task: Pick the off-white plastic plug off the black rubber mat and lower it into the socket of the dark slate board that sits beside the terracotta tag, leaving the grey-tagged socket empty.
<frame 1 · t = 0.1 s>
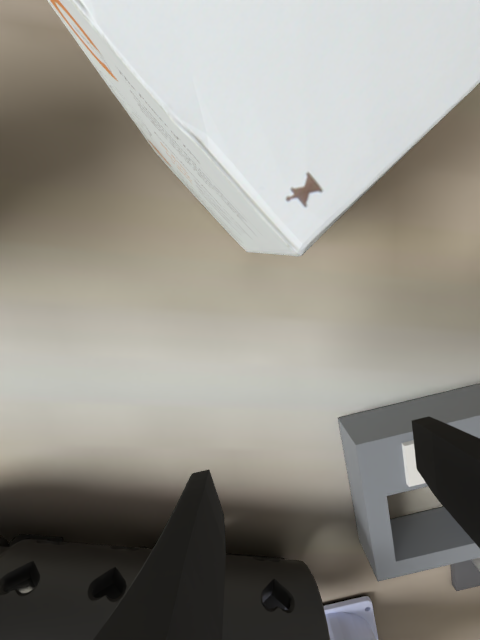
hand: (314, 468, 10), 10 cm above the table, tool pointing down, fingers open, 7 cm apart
muzzle brake: (121, 544, 23), on the table
socket board: (461, 456, 22), on the table
small box: (240, 165, 17), on the table
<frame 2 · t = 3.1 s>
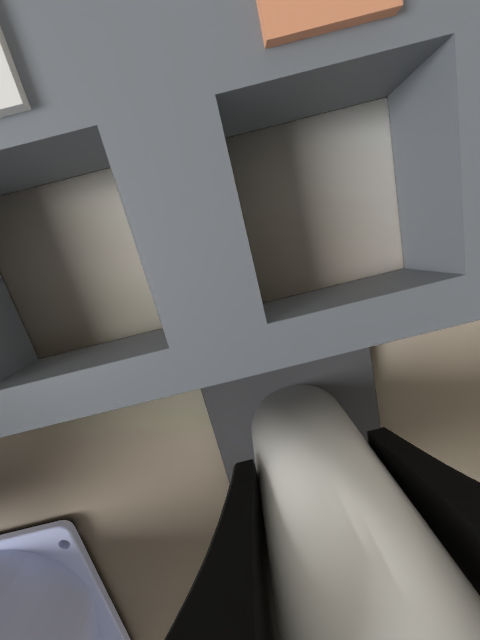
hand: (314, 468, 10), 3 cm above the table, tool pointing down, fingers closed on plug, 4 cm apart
plug mat: (295, 420, 13), on the table
plug: (297, 427, 12), resting on plug mat, touching gripper
socket board: (188, 195, 10), on the table
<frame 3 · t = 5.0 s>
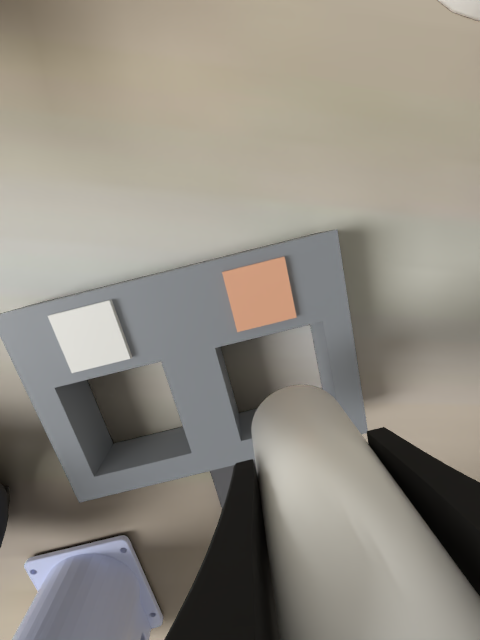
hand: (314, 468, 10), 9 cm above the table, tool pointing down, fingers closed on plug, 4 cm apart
plug mat: (262, 475, 21), on the table
plug: (297, 427, 12), point 7 cm above the table, touching gripper
socket board: (200, 359, 19), on the table
when the fingers open (4 cm above the table, at t = 7.1 s): plug drops 2 cm, resting in socket board.
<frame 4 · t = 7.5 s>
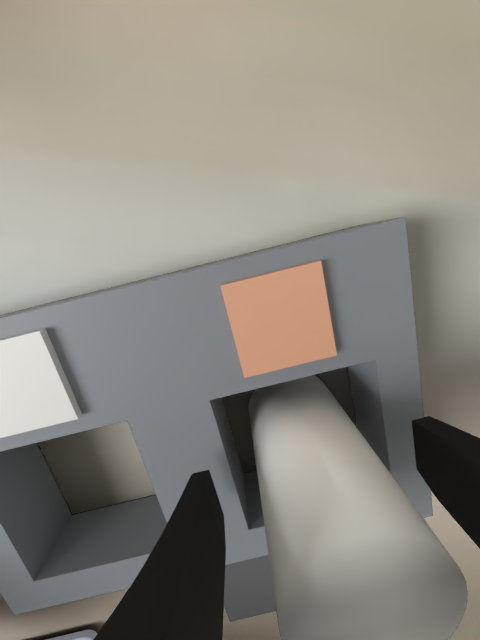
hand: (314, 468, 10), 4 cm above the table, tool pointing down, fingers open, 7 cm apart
plug mat: (275, 552, 16), on the table
plug: (290, 408, 14), resting in socket board
socket board: (190, 403, 13), on the table
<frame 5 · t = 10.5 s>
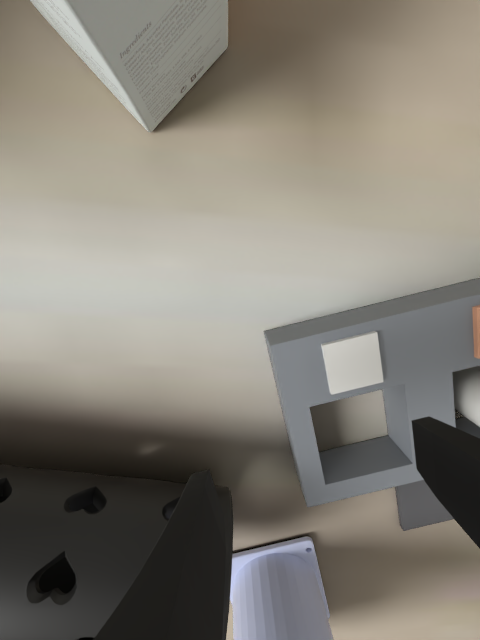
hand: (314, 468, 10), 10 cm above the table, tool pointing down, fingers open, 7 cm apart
muzzle brake: (40, 475, 22), on the table
plug mat: (437, 482, 23), on the table
plug: (463, 381, 21), resting in socket board
socket board: (401, 378, 21), on the table
small box: (136, 31, 15), on the table
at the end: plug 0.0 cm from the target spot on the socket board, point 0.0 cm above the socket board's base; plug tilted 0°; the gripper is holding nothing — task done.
